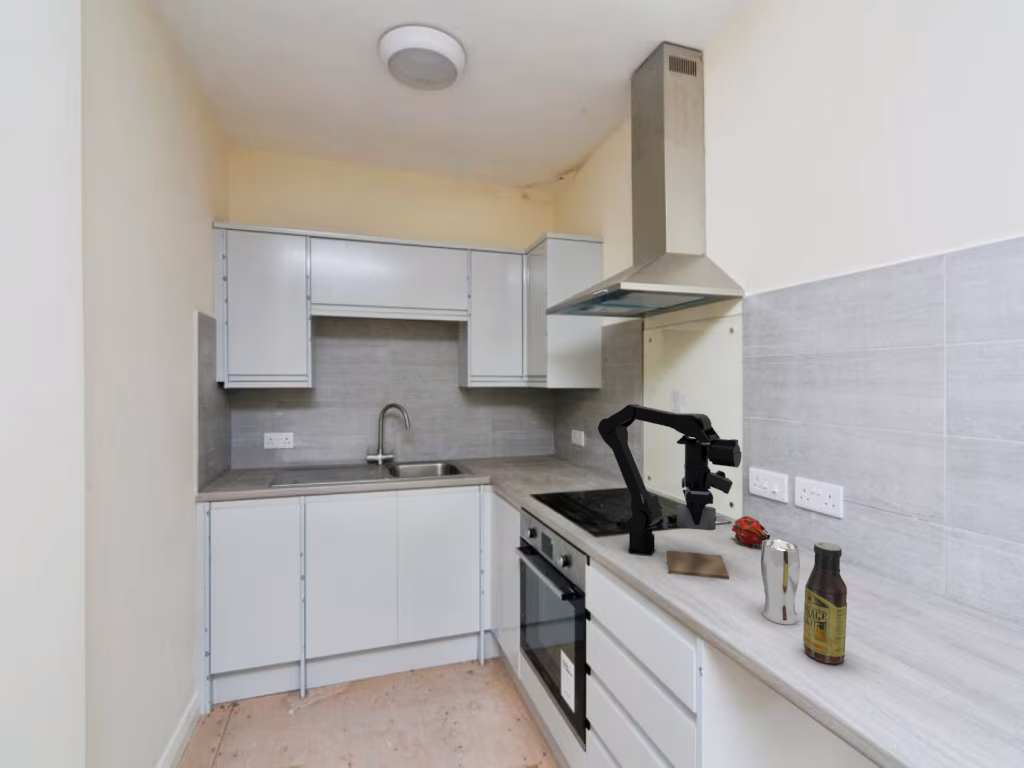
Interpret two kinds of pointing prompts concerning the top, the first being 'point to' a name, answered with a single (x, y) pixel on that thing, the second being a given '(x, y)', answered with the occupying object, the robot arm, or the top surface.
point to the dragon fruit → (749, 531)
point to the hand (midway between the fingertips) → (695, 522)
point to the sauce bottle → (825, 606)
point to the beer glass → (780, 580)
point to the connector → (705, 523)
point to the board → (696, 564)
